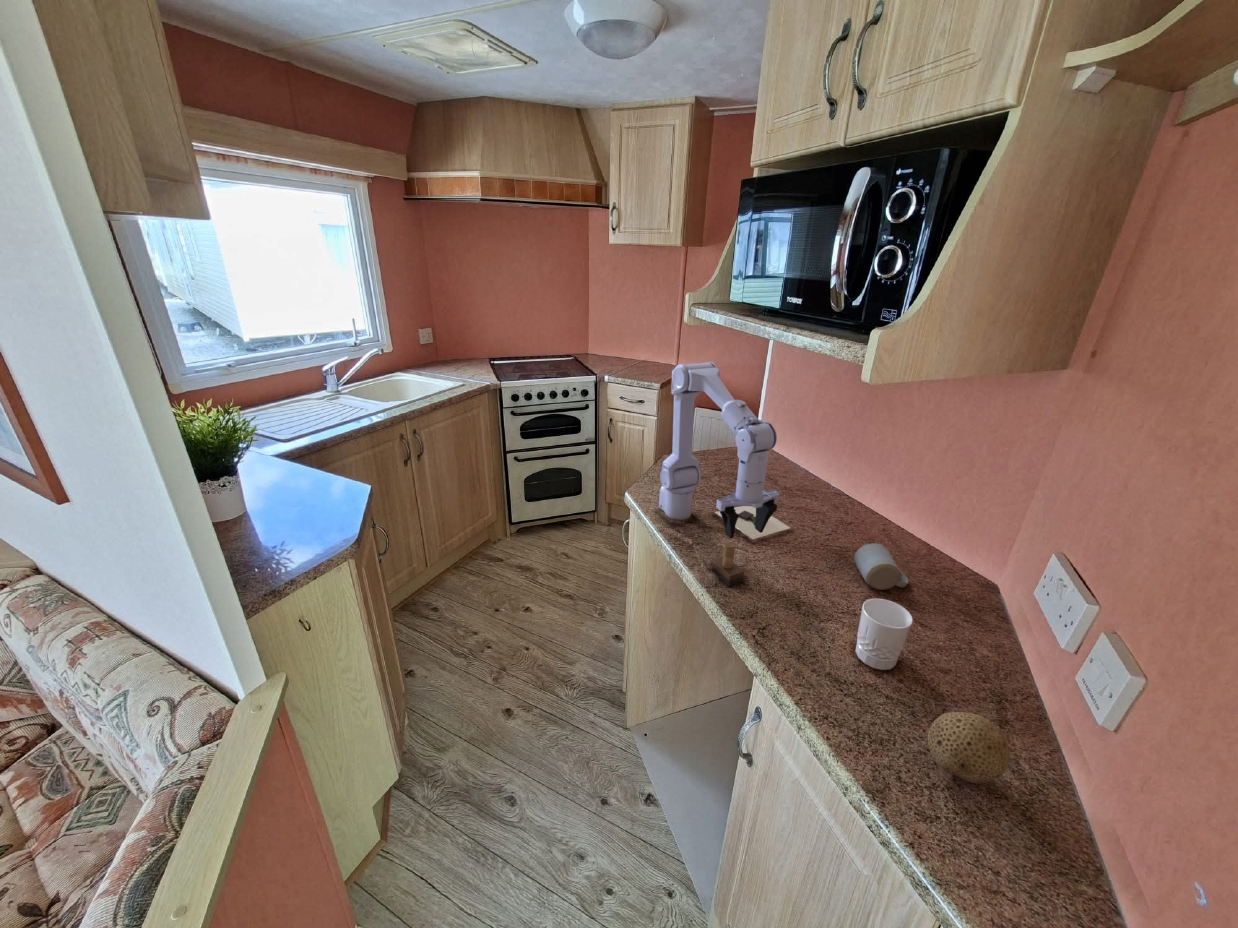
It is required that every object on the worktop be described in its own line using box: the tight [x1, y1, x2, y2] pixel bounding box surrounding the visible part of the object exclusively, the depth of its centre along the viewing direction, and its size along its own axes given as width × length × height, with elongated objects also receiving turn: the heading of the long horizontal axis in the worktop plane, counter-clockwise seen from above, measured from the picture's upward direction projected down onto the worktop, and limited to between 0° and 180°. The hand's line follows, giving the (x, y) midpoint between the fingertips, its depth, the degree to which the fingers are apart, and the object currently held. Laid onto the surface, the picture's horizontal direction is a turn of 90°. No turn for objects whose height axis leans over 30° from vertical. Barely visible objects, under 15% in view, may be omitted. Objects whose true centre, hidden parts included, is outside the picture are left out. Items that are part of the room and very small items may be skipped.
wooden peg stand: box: [710, 541, 745, 587], centre depth 111 cm, size 7×4×8 cm, turn 27°
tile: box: [714, 506, 791, 540], centre depth 134 cm, size 16×13×1 cm
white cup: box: [855, 598, 914, 671], centre depth 88 cm, size 8×8×10 cm
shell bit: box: [738, 511, 754, 521], centre depth 135 cm, size 3×3×1 cm
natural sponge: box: [927, 711, 1011, 784], centre depth 68 cm, size 9×9×10 cm
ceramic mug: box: [853, 542, 909, 591], centre depth 109 cm, size 11×8×8 cm
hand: (744, 533), depth 110 cm, fingers open, 7 cm apart
